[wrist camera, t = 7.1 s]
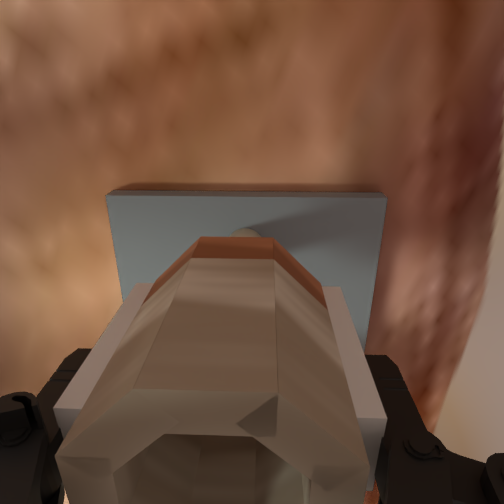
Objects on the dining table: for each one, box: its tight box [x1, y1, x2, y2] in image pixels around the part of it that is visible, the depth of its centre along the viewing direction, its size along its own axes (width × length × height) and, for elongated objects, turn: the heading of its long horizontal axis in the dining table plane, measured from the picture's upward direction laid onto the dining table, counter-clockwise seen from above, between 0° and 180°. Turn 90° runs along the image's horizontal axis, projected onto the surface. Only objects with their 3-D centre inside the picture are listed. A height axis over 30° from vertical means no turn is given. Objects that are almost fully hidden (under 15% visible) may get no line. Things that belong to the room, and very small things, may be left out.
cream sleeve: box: [55, 236, 370, 504], centre depth 12 cm, size 7×7×8 cm
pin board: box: [105, 190, 388, 352], centre depth 23 cm, size 16×18×7 cm
